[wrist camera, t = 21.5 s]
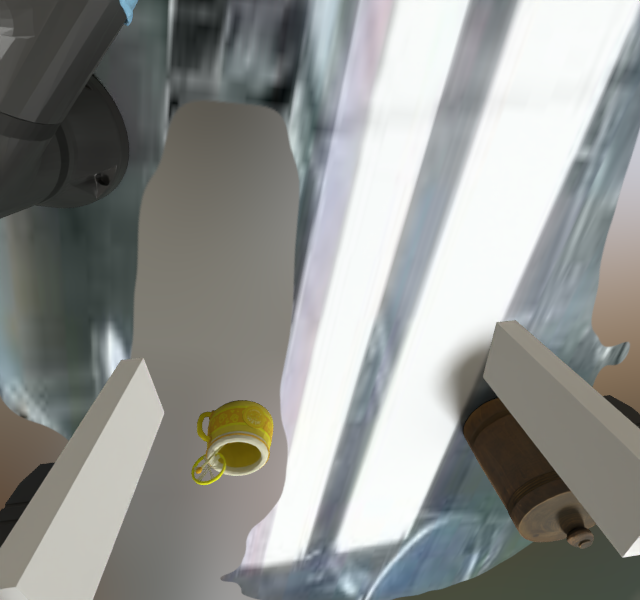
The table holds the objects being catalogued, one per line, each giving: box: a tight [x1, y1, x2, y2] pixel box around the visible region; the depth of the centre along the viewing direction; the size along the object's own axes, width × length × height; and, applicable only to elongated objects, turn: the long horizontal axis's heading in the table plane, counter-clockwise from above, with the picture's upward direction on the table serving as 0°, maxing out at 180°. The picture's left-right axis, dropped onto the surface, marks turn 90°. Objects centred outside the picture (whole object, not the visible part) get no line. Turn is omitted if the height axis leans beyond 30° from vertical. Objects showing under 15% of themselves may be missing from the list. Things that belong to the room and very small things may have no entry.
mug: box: [191, 400, 273, 485], centre depth 53 cm, size 13×11×12 cm
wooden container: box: [464, 398, 596, 549], centre depth 57 cm, size 15×15×22 cm
